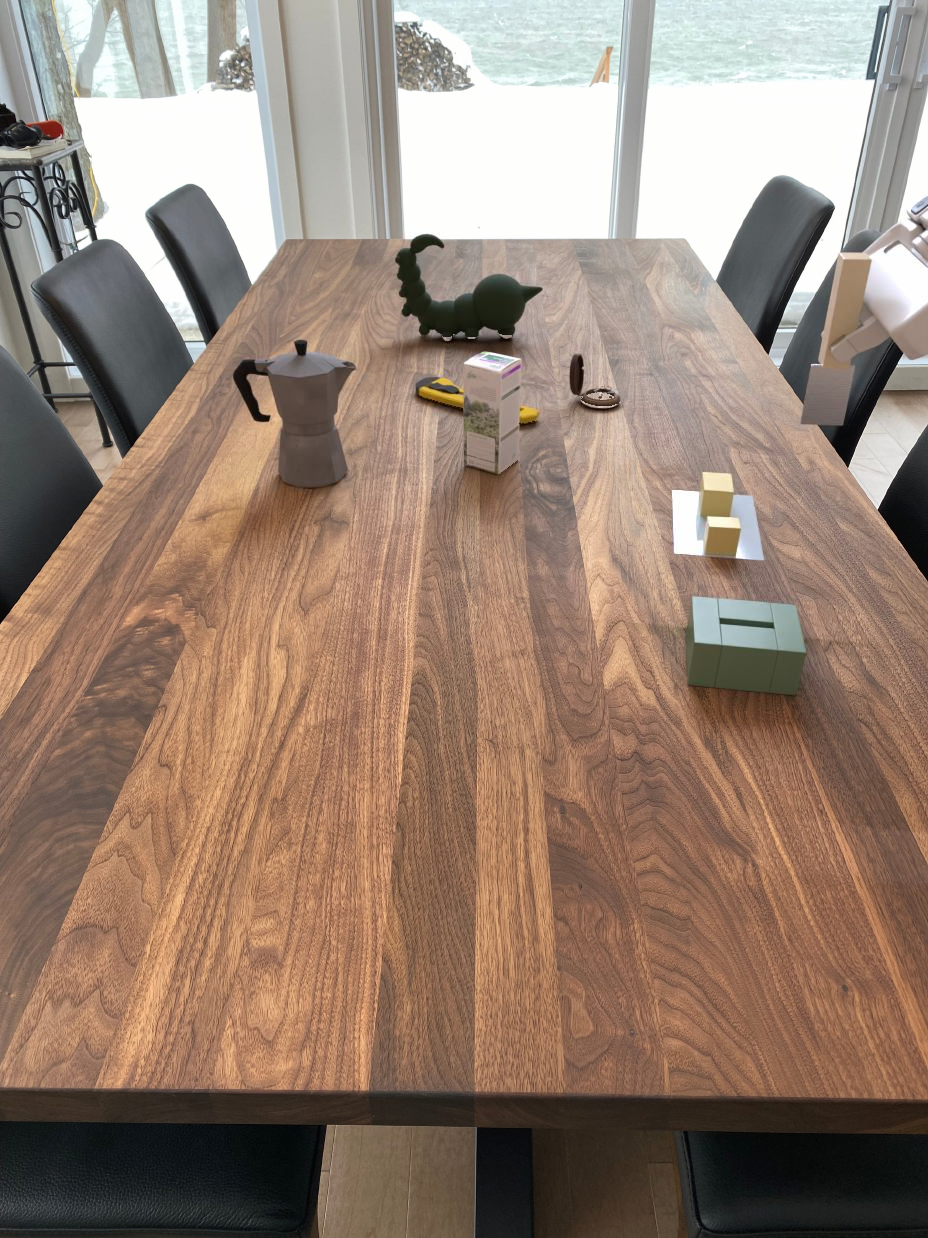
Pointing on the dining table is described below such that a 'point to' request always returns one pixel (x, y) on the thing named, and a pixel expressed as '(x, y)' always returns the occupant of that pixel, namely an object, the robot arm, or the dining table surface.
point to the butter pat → (721, 535)
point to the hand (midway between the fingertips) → (829, 349)
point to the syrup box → (491, 411)
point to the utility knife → (458, 396)
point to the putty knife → (843, 316)
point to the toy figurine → (460, 299)
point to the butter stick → (716, 494)
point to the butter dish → (693, 526)
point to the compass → (576, 387)
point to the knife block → (744, 645)
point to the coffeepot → (302, 412)
